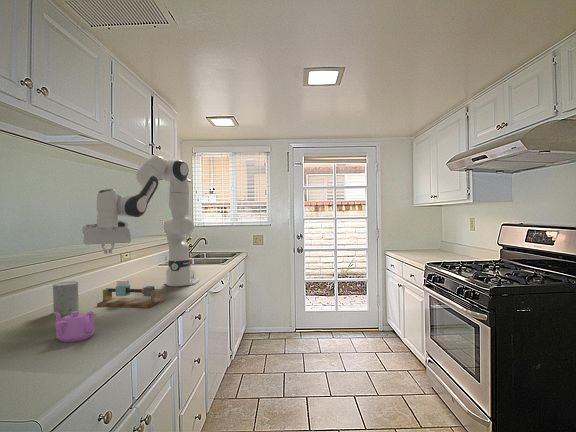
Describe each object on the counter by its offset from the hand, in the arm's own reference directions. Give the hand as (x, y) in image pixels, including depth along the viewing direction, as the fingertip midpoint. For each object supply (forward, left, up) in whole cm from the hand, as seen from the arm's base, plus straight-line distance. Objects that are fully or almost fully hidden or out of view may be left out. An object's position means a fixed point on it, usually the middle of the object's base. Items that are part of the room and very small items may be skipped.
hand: (108, 253), depth 185 cm
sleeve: (0, +7, -19) cm, 21 cm away
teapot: (+48, +20, -23) cm, 57 cm away
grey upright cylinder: (+18, -8, -23) cm, 30 cm away
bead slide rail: (0, +11, -19) cm, 22 cm away
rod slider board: (0, +11, -23) cm, 26 cm away
